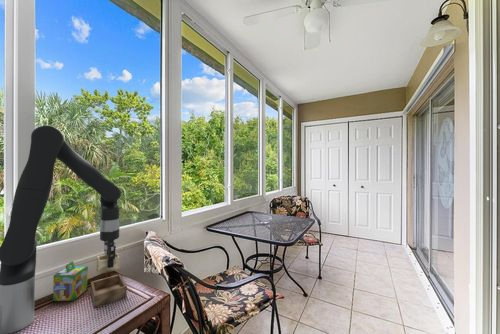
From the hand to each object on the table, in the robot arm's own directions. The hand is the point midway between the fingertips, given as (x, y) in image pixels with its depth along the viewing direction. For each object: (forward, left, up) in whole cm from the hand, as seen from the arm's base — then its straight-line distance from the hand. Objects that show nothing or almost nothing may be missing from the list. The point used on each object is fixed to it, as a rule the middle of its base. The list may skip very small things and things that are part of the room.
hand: (109, 264), depth 100 cm
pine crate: (0, 0, -2) cm, 2 cm away
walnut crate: (0, 0, -14) cm, 14 cm away
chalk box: (-13, +10, -14) cm, 22 cm away
